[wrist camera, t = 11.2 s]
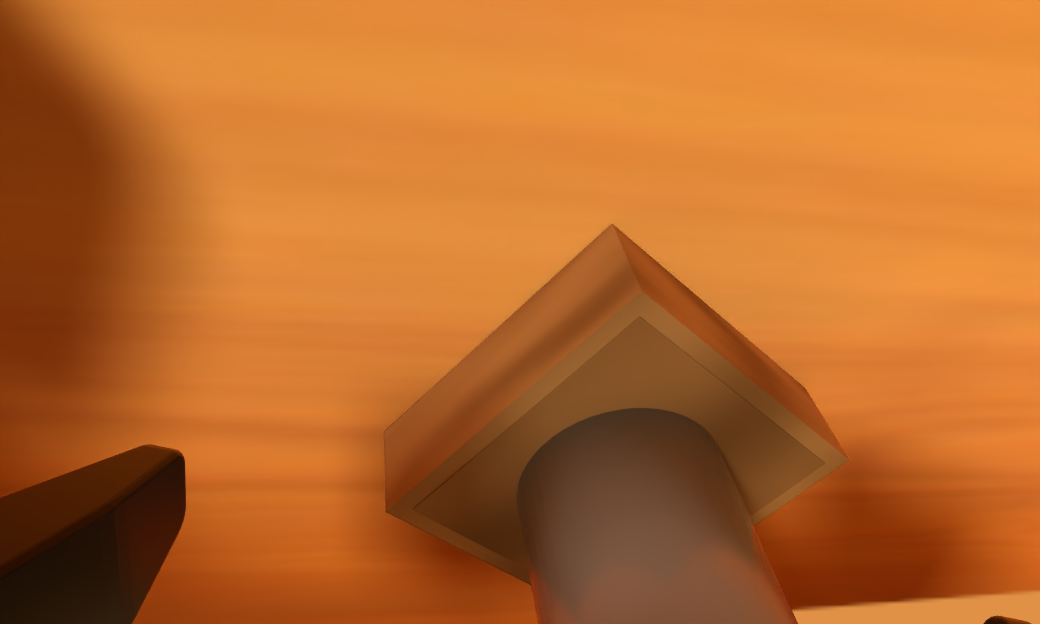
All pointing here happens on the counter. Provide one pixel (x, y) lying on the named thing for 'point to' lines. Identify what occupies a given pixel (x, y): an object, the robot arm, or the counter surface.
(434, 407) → the stand
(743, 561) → the canister
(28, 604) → the robot arm
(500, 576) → the counter surface
